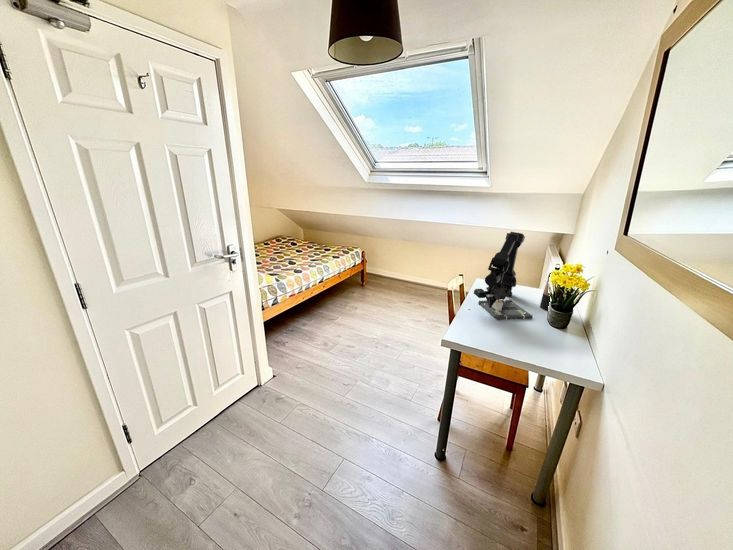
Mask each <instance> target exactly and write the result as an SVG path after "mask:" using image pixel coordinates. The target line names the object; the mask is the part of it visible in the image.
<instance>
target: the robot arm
mask: <svg viewBox="0 0 733 550" xmlns="http://www.w3.org/2000/svg"><path fill="white" fill-rule="evenodd" d="M525 238H526V237H525V234H523V233H521V232H515V231H510V232H506V235H505V241H504V243H503V245H502V247H501V249H500V251H499V252H497V253H495V254H494V256H493V257H492V258H491V261H490V262H489V266H488V268H487V271H490V273H489V274H487V275H486V277H485V278H484V283H485V284H486V285H487V286H488V287H486V288H485V290H484V289H483V288H475V289H474V290H473V294H474V295H475V296H476V297H477V298H479V299H485V298H486V300H487V303H488V307H489V308H491V307H492V306H493V304H494V303H495V301H496V300H506V298H512V296H513V292H512V290H513V288H514V287H517V277H516V275H517V273H516V272H515V265H516V261H517V256H518V255H517V254H518V250H519V248H520V247H521V246H522V245H523V243H524V242H525Z"/></svg>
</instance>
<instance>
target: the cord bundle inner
mask: <svg viewBox="0 0 733 550" xmlns="http://www.w3.org/2000/svg"><path fill="white" fill-rule="evenodd" d="M500 301H501V302H514V300H512V299H504V300H503V299H501V300H500ZM481 303H487V299H486V300H478V303H477V304H478V305H479V306H480V305H481Z"/></svg>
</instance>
